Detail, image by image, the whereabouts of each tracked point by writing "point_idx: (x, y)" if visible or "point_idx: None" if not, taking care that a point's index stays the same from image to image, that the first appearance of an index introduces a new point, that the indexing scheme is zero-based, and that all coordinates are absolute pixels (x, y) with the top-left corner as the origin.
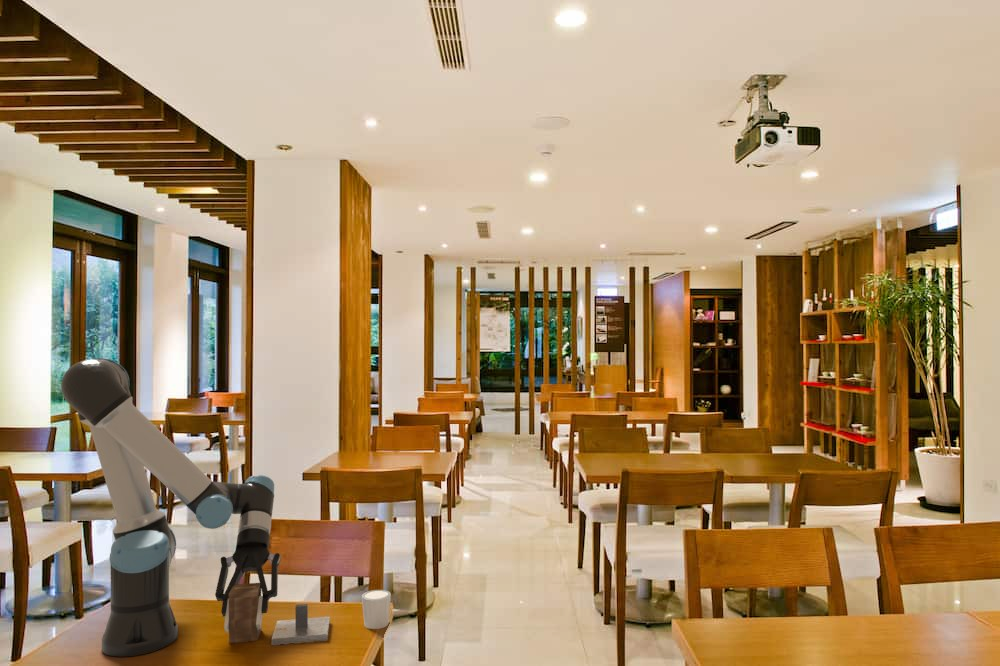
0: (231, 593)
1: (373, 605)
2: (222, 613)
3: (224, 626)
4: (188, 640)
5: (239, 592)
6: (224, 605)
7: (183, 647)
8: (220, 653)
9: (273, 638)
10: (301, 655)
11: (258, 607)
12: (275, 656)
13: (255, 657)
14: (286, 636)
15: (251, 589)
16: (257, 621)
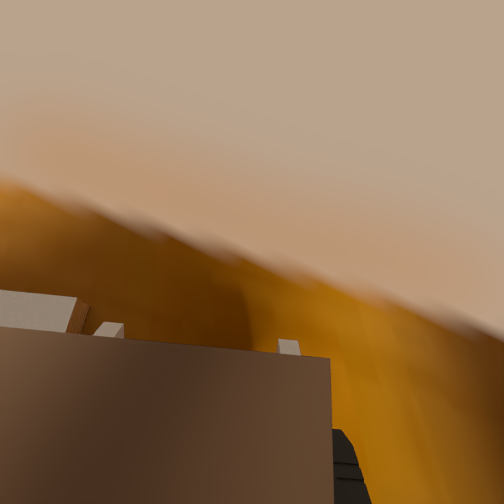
0: (298, 361)
1: None
2: (338, 431)
3: (295, 341)
4: (467, 499)
5: (200, 370)
6: (349, 496)
7: (455, 410)
8: (285, 298)
9: (68, 297)
10: (7, 195)
11: None
12: (93, 214)
13: (159, 228)
14: (6, 301)
15: (24, 455)
16: (109, 332)
